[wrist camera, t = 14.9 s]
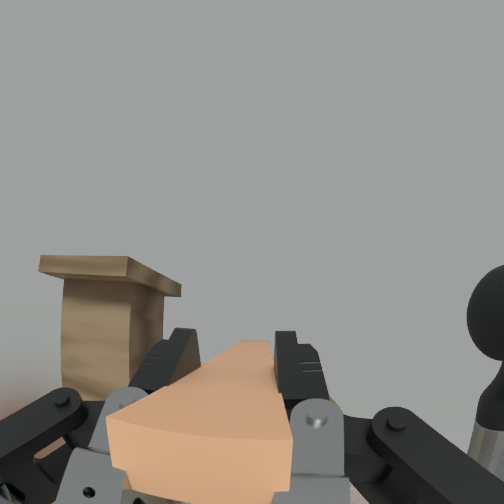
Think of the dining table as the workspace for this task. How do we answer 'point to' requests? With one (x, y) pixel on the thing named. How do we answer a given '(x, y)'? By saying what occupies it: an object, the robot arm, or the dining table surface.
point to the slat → (209, 433)
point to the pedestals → (107, 319)
